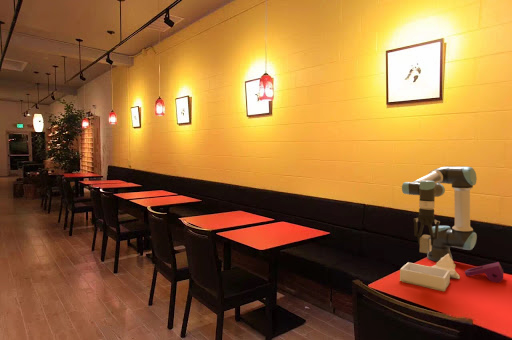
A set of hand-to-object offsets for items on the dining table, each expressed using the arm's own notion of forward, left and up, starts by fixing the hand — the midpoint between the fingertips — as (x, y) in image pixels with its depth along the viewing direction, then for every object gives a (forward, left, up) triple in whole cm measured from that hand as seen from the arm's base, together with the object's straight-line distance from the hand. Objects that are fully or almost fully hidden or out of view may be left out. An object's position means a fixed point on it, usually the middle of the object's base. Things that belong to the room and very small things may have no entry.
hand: (425, 250), depth 182 cm
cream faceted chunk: (-19, +7, -18) cm, 27 cm away
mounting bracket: (-31, +25, -19) cm, 44 cm away
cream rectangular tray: (0, 0, -18) cm, 18 cm away
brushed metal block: (0, 0, 0) cm, 0 cm away
